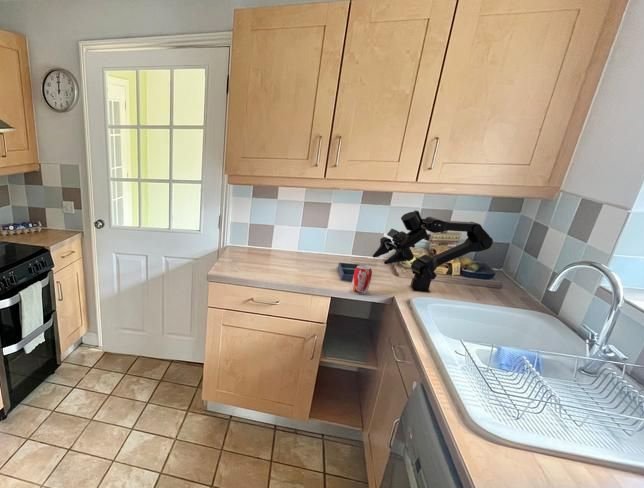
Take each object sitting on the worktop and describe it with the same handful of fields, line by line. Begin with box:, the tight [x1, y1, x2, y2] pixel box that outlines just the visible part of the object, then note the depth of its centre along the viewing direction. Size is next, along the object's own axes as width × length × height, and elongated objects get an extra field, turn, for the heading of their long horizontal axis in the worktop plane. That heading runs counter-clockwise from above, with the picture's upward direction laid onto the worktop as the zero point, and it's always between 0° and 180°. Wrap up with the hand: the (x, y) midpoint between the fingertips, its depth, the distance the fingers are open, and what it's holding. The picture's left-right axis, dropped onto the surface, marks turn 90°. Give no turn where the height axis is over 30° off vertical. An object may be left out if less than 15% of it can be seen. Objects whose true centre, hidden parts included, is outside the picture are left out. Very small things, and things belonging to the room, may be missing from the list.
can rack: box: [337, 262, 361, 283], centre depth 204 cm, size 10×19×3 cm, turn 163°
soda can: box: [350, 264, 373, 295], centre depth 182 cm, size 7×7×12 cm
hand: (378, 259), depth 181 cm, fingers open, 9 cm apart
